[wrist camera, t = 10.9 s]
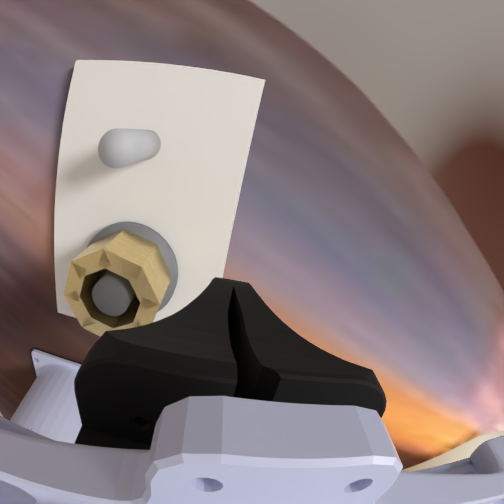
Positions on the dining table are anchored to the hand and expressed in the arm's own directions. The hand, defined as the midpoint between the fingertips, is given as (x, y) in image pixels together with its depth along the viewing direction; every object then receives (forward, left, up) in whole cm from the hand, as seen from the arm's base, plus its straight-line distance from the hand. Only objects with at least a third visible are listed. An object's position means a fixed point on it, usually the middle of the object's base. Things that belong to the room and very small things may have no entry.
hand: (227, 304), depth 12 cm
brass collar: (-4, +6, -8) cm, 10 cm away
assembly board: (0, +6, -9) cm, 11 cm away
